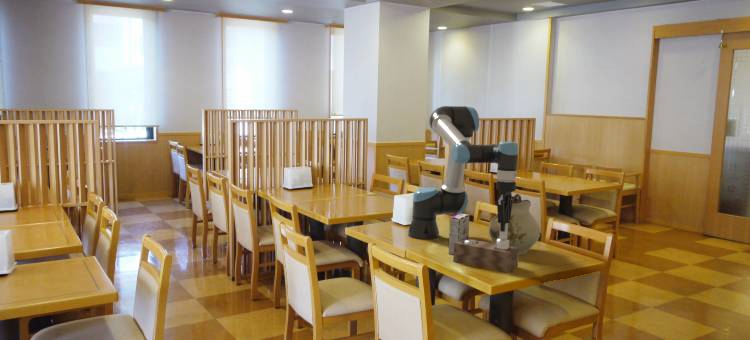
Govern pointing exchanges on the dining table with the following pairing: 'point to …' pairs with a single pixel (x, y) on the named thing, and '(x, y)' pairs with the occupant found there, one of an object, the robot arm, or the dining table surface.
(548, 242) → the dining table surface
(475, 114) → the robot arm
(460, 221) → the candy bar box
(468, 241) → the peg
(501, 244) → the peg
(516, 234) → the pitcher
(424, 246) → the dining table surface
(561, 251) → the dining table surface
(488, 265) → the walnut bar
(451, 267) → the dining table surface
